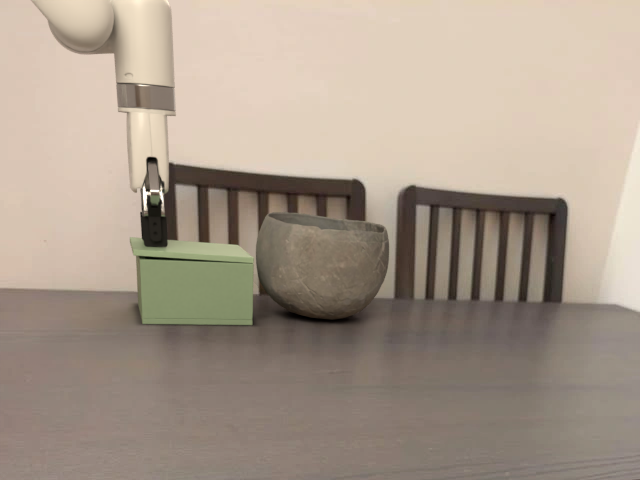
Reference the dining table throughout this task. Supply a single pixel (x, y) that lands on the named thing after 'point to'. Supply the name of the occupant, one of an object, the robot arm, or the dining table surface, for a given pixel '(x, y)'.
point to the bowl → (321, 263)
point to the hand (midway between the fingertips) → (154, 242)
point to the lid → (192, 250)
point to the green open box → (194, 291)
